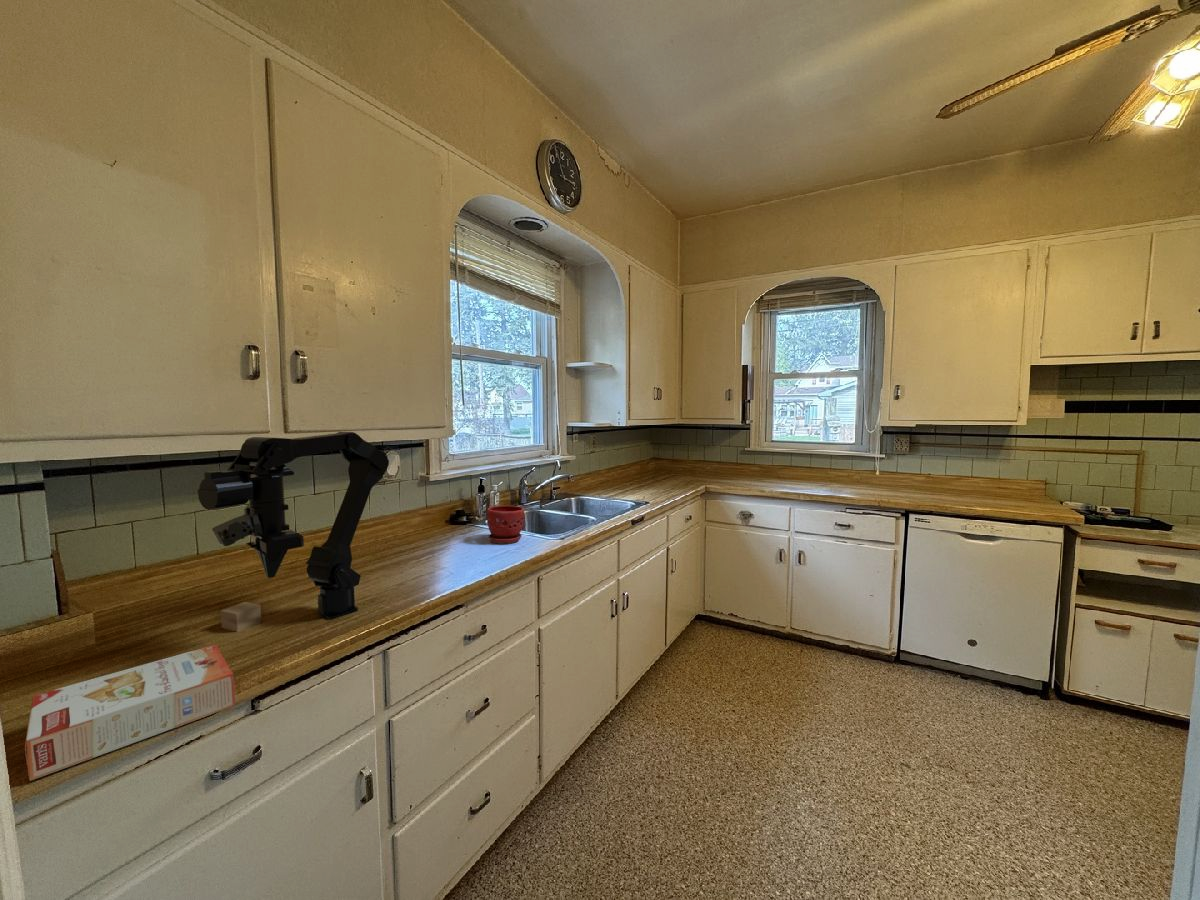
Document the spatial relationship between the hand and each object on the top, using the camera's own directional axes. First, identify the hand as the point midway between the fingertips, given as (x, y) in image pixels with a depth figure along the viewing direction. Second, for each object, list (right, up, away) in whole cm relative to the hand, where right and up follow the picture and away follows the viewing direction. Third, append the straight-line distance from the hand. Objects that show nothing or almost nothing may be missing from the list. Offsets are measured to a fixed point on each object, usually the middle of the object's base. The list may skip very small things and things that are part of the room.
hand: (271, 577), depth 95 cm
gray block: (-11, -13, +8) cm, 19 cm away
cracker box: (+4, -11, -16) cm, 20 cm away
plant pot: (+32, -7, +75) cm, 82 cm away
